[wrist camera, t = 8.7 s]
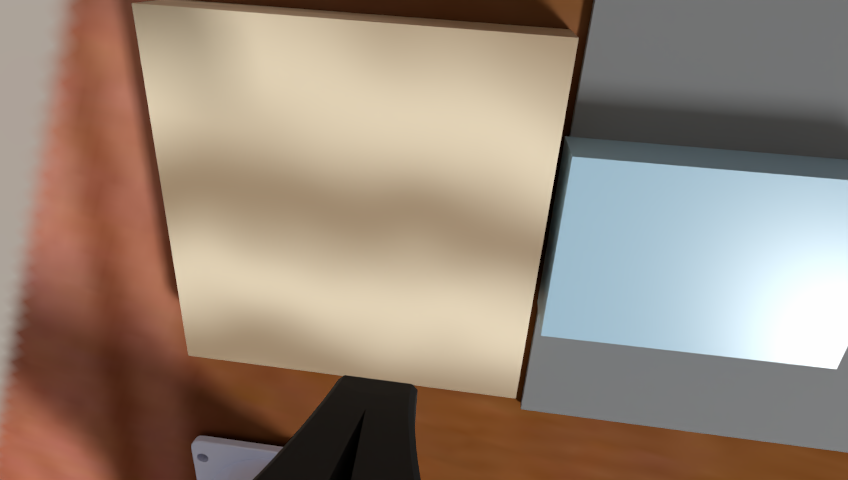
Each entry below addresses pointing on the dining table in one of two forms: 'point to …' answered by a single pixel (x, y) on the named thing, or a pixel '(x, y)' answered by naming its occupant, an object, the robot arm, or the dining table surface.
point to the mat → (719, 129)
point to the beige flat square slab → (355, 185)
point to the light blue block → (699, 251)
